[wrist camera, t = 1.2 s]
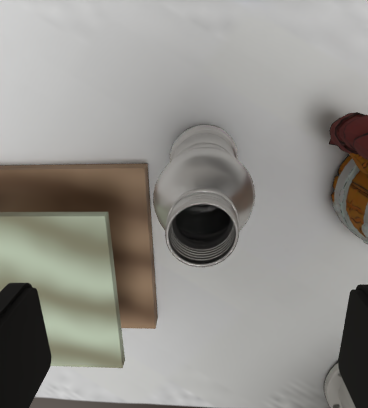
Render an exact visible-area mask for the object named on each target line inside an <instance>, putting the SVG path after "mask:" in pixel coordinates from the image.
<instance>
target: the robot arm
mask: <svg viewBox="0 0 368 408" xmlns="http://www.w3.org/2000/svg"><path fill="white" fill-rule="evenodd" d="M51 358H52V357H51V351H50V347H49V342H48V337H47V333H46V328H45V323H44V319H43V314H42V309H41V305H40V300H39V295H38V291H37V289H36V288H33V287H32V285H31V284H30V283H9V284H7V285H6V286H5V287H4V288H3V289H2V290H1V292H0V408H29V406H30V404H31V403H32V401H33V399H34V397H35V395H36V393H37V391H38V389H39V387H40V385H41V383H42V382H43V380H44V378H45V376H46V374H47V372H48V370H49V368H50V365H51ZM324 392H325V396H326V399H327V402H328V404H329V406H330V408H368V285H358V286H357V287H356V290H351V292H350V295H349V301H348V307H347V313H346V319H345V324H344V330H343V336H342V342H341V348H340V353H339V359H338V363H337V364H336V365H335V366H334V367H333V368H332V369H331V370H330V372H329V374H328V375H327V377H326V381H325V384H324Z"/></svg>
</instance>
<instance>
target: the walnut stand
mask: <svg viewBox="0 0 368 408" xmlns="http://www.w3.org/2000/svg"><path fill="white" fill-rule="evenodd" d="M9 283H30V284H31V285H32V287H33V288H36V289H37V291H38V295H39V300H40V305H41V309H42V314H43V319H44V323H45V328H46V333H47V337H48V342H49V347H50V351H51V357H52V358H51V365H50V366H71V367H107V368H123V365H124V361H125V357H124V348H123V339H122V330H121V328H151V329H155V328H156V323H157V318H158V316H157V300H156V285H155V270H154V255H153V240H152V224H151V209H150V194H149V179H148V164H74V165H0V292H1V290H2V289H3V288H4V287H5V286H6V285H7V284H9Z"/></svg>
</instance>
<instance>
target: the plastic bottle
mask: <svg viewBox="0 0 368 408" xmlns="http://www.w3.org/2000/svg"><path fill="white" fill-rule="evenodd" d="M237 157H238V155H237V148H236V145H235V143H234V141H233V139H232V138H231V137H230V135H229V134H228V133H227V132H225V131H224V130H222V129H221V128H218V127H216V126H212V125H199V126H194V127H192V128H189V129H188V130H186V131H184V132H183V133H182V134H181V135H180V136H179V137H178V138H177V139H176V141H175V142H174V144H173V146H172V148H171V152H170V163H169V164H168V165H167V166H166V167H165V169H164V170H163V171H162V173H161V174H160V176H159V178H158V180H157V182H156V184H155V189H154V193H153V203H154V208H155V213H156V215H157V217H158V220H159V222H160V224H161V225H162V227H163V228H164V230H165V237H166V242H167V246H168V248H169V250H170V251H171V253H172V254H173V255H174V256H175V257H176V258H177V259H178V260H179V261H181V262H183V263H185V264H187V265H190V266H195V267H207V266H212V265H215V264H218V263H220V262H222V261H223V260H225V259H226V258H227V257H228V256H229V255H230V254H231V253H232V252H233V250H234V248H235V247H236V244H237V241H238V237H239V232H240V230H241V229H242V228H243V227H244V226H245V224H246V222H247V221H248V219H249V217H250V215H251V212H252V209H253V206H254V200H255V190H254V184H253V181H252V178H251V176H250V174H249V172H248V171H247V169H246V168H245V167H244V166H243V164H242V163H241V162H240V161H239V160H238V159H237Z"/></svg>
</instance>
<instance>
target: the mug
mask: <svg viewBox="0 0 368 408" xmlns="http://www.w3.org/2000/svg"><path fill="white" fill-rule="evenodd" d="M330 137H331V139H330V142H329V144H331V145H337V146H338V147H339V148H340V149H341V150H343V151H345V152H347V153H349V154H350V155H349V156H348V157H347V158H346V159H345V160H344V162H343V163H342V164H341V165H340V168H339V171H338V173H339V175H338V176H335V178H334V182H333V186H332V187H333V188H334V190H335V191H334V192H333V193H332V195H331V197H332V201H333V208H334V209H335V211H336V212H337V214H338V216H339V218H340V220H341V222H342V223H343V224H344V225H345V226H346V227H347V228H348V229H349V230H350V231H351V232H352V233H354V234H355V235H356V236H357V237H359V238H361V239H362V240H363V241H364V243H366V244H368V115H363V114H360V113H357V112H356V113H348V114H347V115H345V116H343V117H341V118H339V119H338V120H337V121H335V122H334V123H333V124H332V126H331V128H330Z"/></svg>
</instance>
